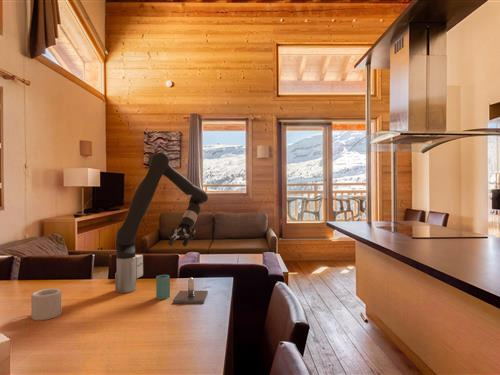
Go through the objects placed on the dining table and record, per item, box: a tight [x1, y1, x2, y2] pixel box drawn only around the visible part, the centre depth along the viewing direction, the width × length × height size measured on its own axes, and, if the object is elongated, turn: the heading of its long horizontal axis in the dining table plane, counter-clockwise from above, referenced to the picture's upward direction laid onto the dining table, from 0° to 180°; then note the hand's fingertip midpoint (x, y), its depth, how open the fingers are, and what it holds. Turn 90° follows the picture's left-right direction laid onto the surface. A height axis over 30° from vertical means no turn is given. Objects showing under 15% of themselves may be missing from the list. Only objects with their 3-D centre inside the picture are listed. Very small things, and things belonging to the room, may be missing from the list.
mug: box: [30, 288, 63, 321], centre depth 140 cm, size 14×11×10 cm
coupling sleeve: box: [155, 274, 171, 300], centre depth 161 cm, size 6×6×10 cm
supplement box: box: [136, 254, 144, 280], centre depth 199 cm, size 7×7×13 cm
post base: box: [172, 277, 209, 305], centre depth 159 cm, size 14×14×10 cm
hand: (176, 245), depth 172 cm, fingers open, 8 cm apart
